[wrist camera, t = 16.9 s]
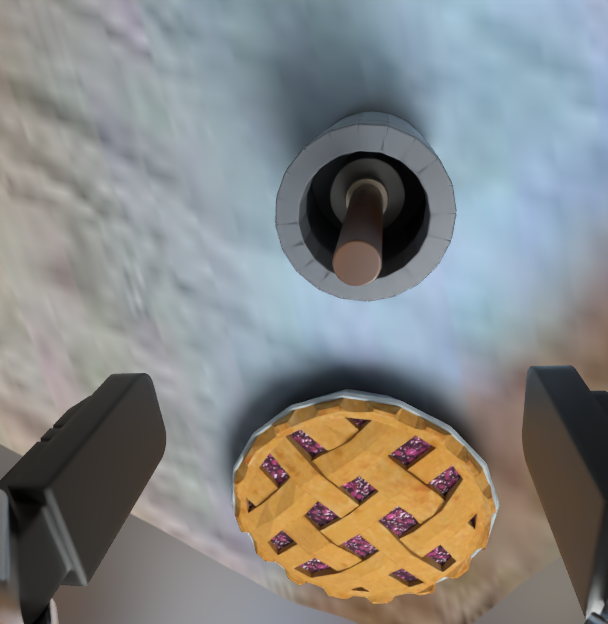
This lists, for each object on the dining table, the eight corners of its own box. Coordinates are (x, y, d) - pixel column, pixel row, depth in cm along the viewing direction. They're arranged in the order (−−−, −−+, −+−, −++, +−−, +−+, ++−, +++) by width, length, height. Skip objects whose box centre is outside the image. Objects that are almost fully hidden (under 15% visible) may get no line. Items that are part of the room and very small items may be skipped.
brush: (323, 185, 34) (273, 268, 19) (367, 132, 32) (351, 176, 17) (371, 227, 35) (361, 340, 19) (417, 178, 33) (445, 259, 18)
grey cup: (281, 186, 35) (241, 227, 25) (364, 81, 32) (355, 80, 22) (373, 264, 36) (369, 332, 27) (462, 172, 33) (495, 210, 23)
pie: (198, 481, 48) (179, 523, 43) (338, 323, 39) (332, 355, 34) (376, 598, 51) (376, 647, 46) (545, 476, 42) (565, 523, 37)
